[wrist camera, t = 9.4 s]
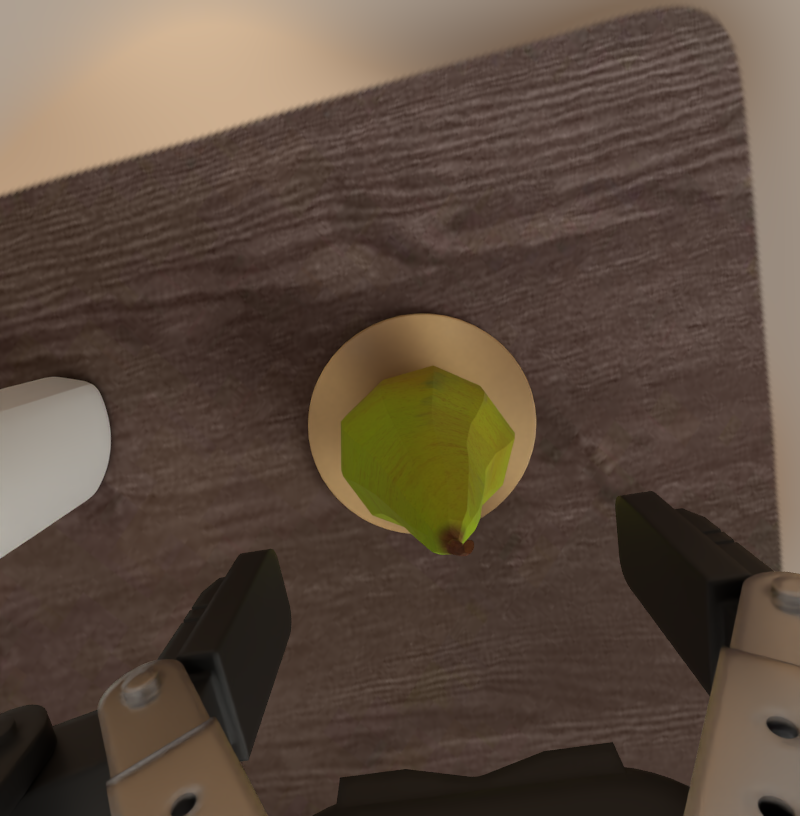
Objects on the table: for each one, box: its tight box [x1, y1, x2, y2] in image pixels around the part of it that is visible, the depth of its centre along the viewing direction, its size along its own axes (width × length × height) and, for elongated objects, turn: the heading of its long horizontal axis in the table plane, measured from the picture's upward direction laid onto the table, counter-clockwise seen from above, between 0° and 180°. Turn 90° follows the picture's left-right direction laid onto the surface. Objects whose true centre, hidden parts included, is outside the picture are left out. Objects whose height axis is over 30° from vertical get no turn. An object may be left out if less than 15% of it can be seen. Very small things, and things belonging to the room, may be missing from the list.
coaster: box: [308, 313, 536, 534], centre depth 23 cm, size 10×10×1 cm
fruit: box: [341, 365, 515, 556], centre depth 17 cm, size 6×6×12 cm
